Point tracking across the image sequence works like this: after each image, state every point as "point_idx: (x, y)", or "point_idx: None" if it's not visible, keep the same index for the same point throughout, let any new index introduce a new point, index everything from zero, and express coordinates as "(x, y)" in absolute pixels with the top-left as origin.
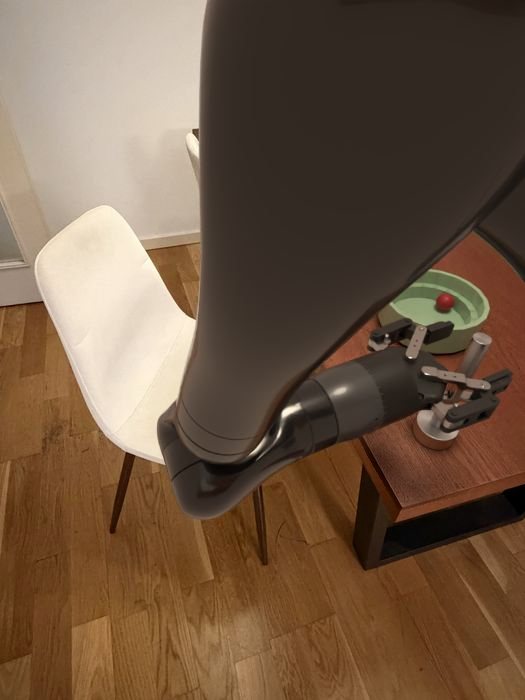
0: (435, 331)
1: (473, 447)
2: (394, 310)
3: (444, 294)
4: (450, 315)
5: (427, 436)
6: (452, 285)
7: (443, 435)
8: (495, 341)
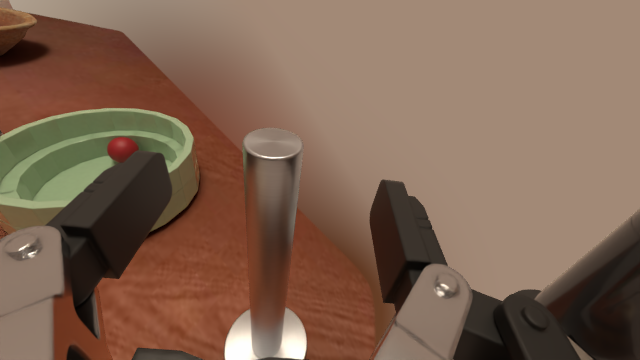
0: (111, 213)
1: (322, 313)
2: (22, 208)
3: (113, 139)
4: None
5: None
6: (116, 124)
7: (293, 356)
8: (219, 162)
